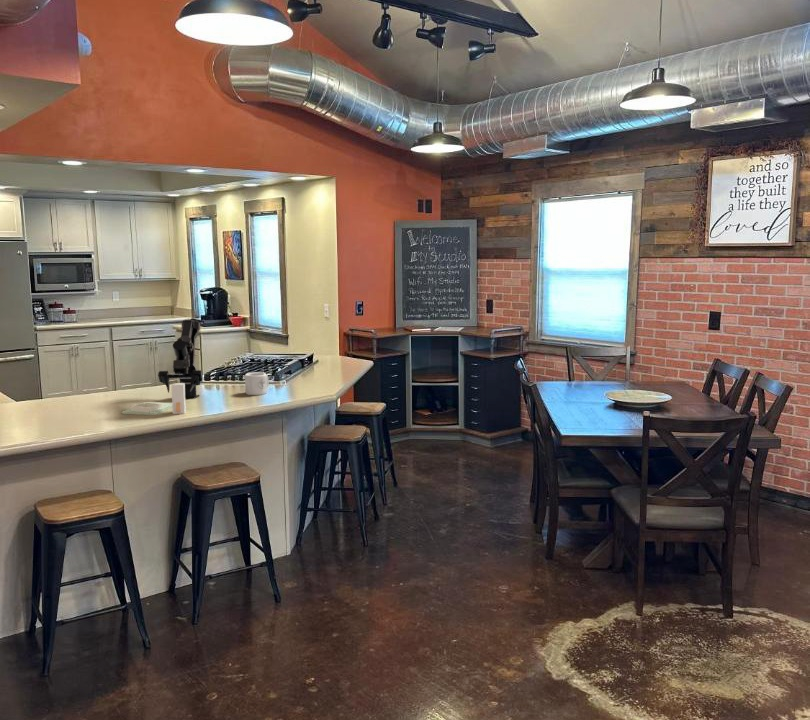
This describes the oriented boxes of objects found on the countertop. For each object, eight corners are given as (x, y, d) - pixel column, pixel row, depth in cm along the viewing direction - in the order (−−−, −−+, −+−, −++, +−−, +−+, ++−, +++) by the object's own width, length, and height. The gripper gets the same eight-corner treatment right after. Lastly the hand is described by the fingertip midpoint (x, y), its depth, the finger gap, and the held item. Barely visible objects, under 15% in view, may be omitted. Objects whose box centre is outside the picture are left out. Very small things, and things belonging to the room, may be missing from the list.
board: (144, 404, 320) (144, 402, 320) (175, 405, 318) (175, 403, 318) (122, 413, 300) (122, 411, 300) (154, 415, 298) (154, 412, 298)
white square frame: (145, 406, 311) (145, 401, 310) (162, 407, 308) (162, 403, 308) (131, 410, 302) (130, 406, 301) (149, 412, 299) (148, 407, 299)
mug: (255, 396, 340) (254, 376, 338) (240, 393, 346) (240, 374, 344) (275, 392, 350) (275, 373, 349) (261, 389, 357) (261, 370, 355)
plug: (174, 411, 305) (173, 383, 303) (185, 411, 306) (184, 383, 304) (172, 414, 300) (171, 385, 298) (184, 414, 301) (183, 385, 299)
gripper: (157, 353, 305) (154, 381, 296) (201, 352, 308) (198, 380, 299) (161, 367, 314) (158, 396, 304) (203, 367, 317) (201, 395, 307)
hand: (179, 391), depth 303 cm, fingers open, 9 cm apart
